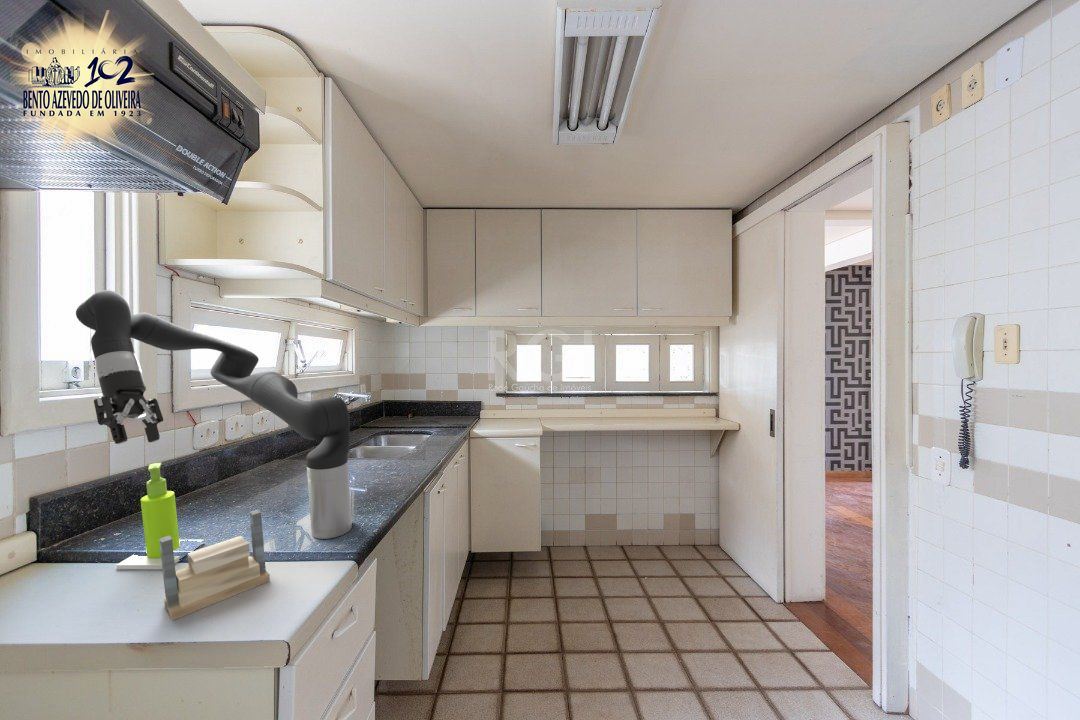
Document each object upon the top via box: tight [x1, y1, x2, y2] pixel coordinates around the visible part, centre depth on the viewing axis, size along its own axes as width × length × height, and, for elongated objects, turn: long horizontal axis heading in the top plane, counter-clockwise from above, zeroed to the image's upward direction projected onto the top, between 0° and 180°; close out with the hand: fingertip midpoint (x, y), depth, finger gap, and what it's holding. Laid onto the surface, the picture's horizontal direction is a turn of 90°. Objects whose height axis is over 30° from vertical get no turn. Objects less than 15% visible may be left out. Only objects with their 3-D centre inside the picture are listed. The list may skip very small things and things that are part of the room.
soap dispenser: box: [140, 461, 180, 559], centre depth 105 cm, size 6×7×20 cm
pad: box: [115, 539, 205, 570], centre depth 106 cm, size 11×11×1 cm
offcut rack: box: [159, 509, 271, 621], centre depth 91 cm, size 6×16×14 cm, turn 139°
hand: (138, 441), depth 106 cm, fingers open, 8 cm apart
